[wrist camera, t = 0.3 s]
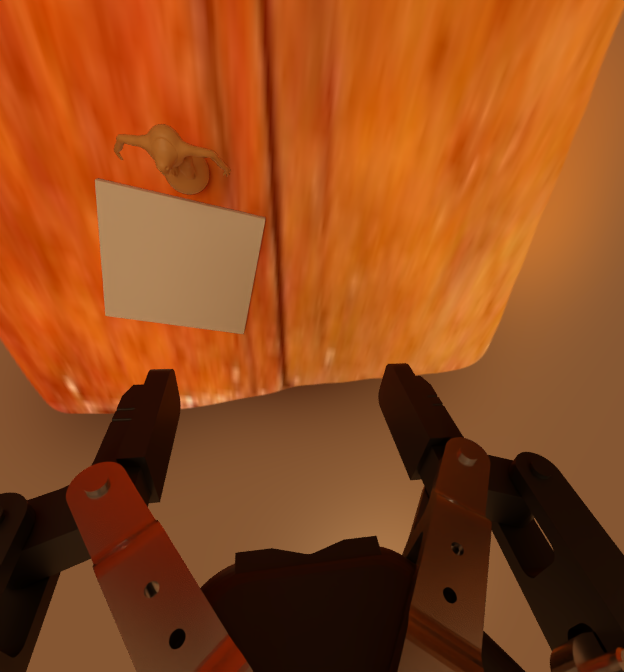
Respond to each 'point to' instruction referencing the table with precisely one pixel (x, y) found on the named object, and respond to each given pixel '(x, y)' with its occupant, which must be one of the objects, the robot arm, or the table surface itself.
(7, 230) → the table surface
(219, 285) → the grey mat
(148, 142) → the figurine
